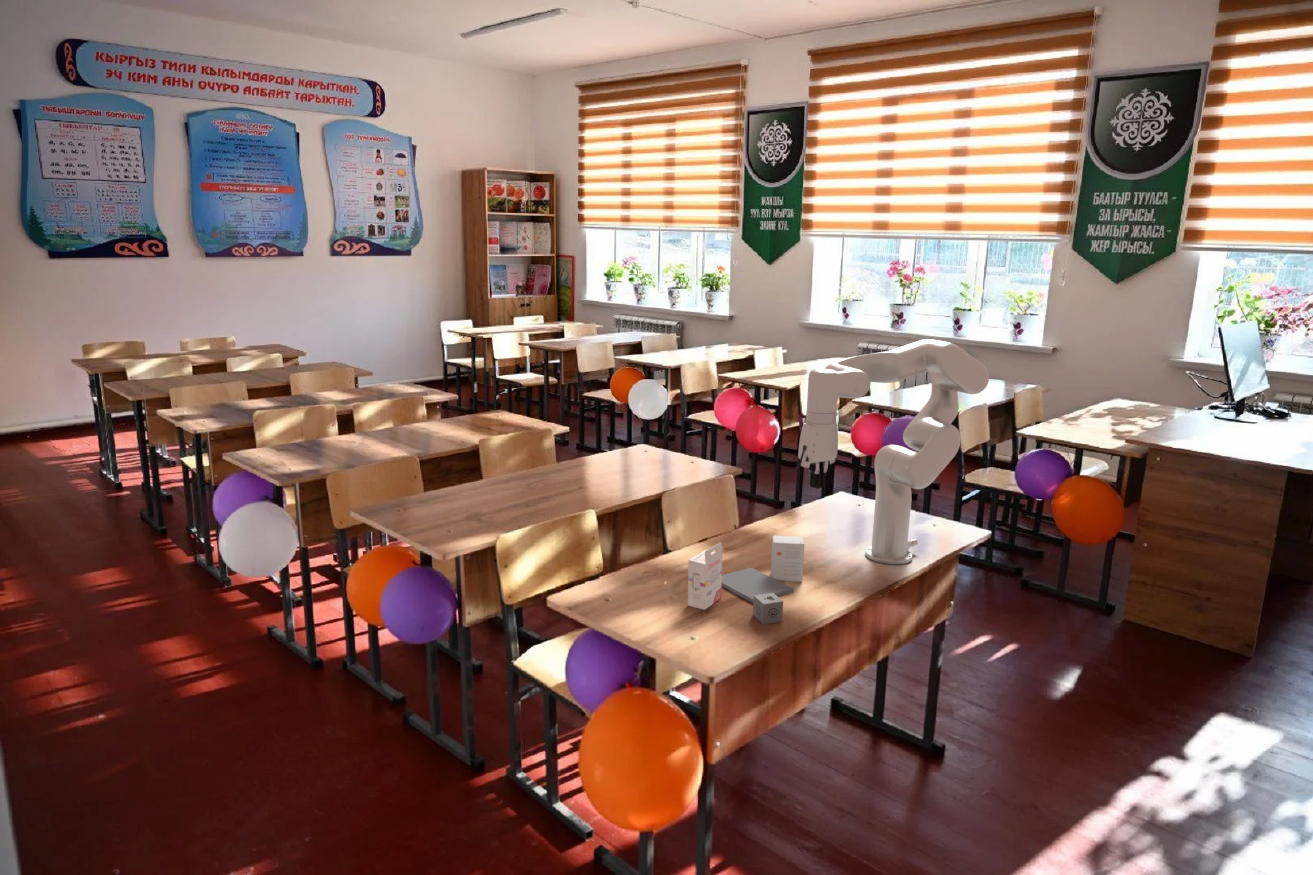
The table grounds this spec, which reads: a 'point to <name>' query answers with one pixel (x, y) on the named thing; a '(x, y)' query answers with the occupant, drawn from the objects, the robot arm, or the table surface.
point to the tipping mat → (753, 584)
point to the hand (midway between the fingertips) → (816, 486)
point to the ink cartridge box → (705, 578)
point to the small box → (787, 558)
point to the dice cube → (768, 608)
